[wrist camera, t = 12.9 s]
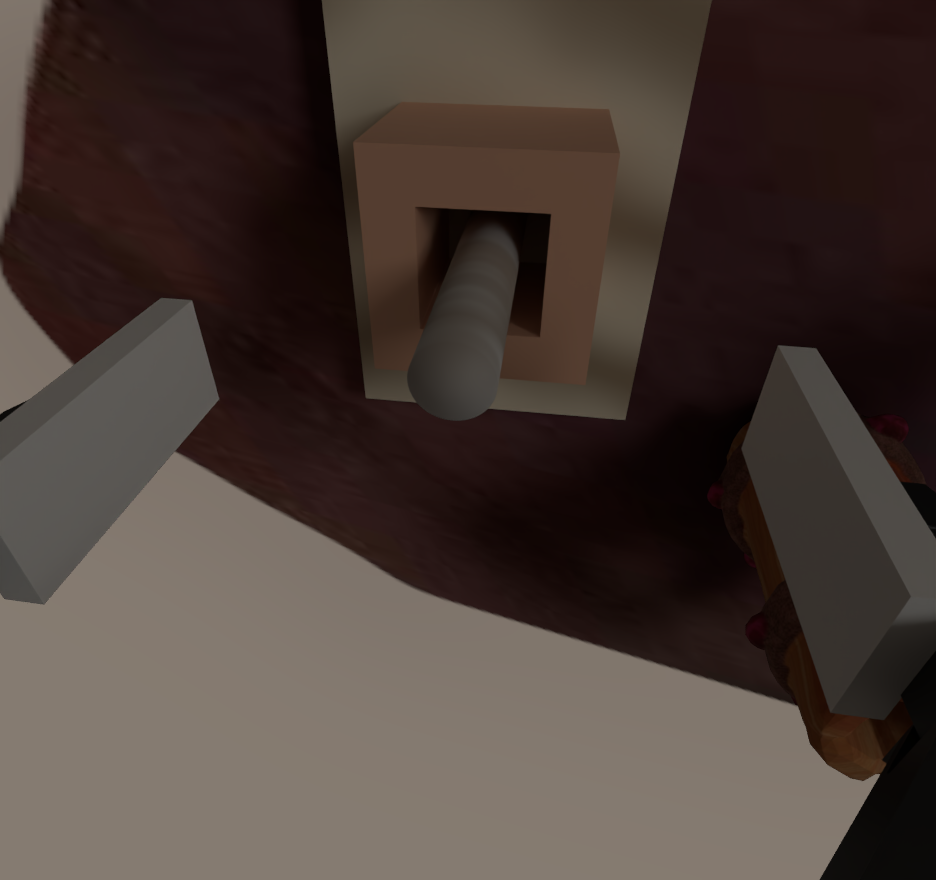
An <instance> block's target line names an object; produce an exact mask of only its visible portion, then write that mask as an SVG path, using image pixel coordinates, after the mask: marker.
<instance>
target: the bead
mask: <svg viewBox="0 0 936 880" xmlns="http://www.w3.org/2000/svg"><path fill="white" fill-rule="evenodd" d="M353 148H354V158H355V168H356V179H357V189H358V199H359V210H360V220H361V230H362V241H363V251H364V261H365V272H366V282H367V292H368V303H369V313H370V323H371V334H372V344H373V354H374V365H375V369H387V370H400V371H408V368H409V365H410V363H411V360H412V358H413V355H414V353H415V350H416V348H417V345H418V343H419V340H420V338H421V335H422V333H423V330H424V328H425V325H426V323H427V320H428V318H429V315H430V313H431V311H432V308H433V306H434V303H435V301H436V298H437V296H438V293H439V291H440V288H441V286H442V283H443V281H444V278H445V276H446V273H447V271H448V268H449V266H450V263H451V261H452V258H449V209H468V210H488V211H507V212H526V213H545V214H551V217H550V228H549V239H548V250H547V261H546V264H544V263H527V262H519V268H518V274H517V280H516V285H515V291H514V297H513V303H512V308H511V314H510V320H509V326H508V331H507V337H506V343H505V349H504V354H503V360H502V366H501V372H500V377H499V378H501V379H514V380H526V381H539V382H552V383H564V384H577V385H585V384H586V378H587V371H588V365H589V358H590V351H591V345H592V338H593V331H594V325H595V318H596V311H597V305H598V298H599V291H600V285H601V278H602V271H603V265H604V258H605V251H606V245H607V238H608V231H609V225H610V218H611V211H612V205H613V198H614V191H615V185H616V178H617V171H618V165H619V158H620V151H619V147H618V143H617V139H616V135H615V131H614V127H613V123H612V119H611V115H610V111H609V109H589V108H561V107H533V106H504V105H476V104H448V103H420V102H401V103H400V104H399V105H397V106H396V107H395V108H394V109H392V110H391V111H390V112H389V113H388V114H386V115H385V116H384V117H383V118H382V119H380V120H379V121H378V122H377V123H376V124H374V125H373V126H372V127H371V128H369V129H368V130H367V131H366V132H365V133H363V134H362V135H361V136H360V137H359V138H357V139H356V140H355V141H354V142H353Z"/></svg>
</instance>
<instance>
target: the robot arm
mask: <svg viewBox="0 0 936 880" xmlns="http://www.w3.org/2000/svg"><path fill="white" fill-rule="evenodd" d="M218 400H219V397H218V393H217V389H216V386H215V382H214V378H213V375H212V371H211V368H210V364H209V360H208V357H207V353H206V350H205V346H204V342H203V339H202V335H201V332H200V328H199V324H198V321H197V317H196V314H195V310H194V306H193V303H192V300H181V299H168V298H161V299H159V300H158V301H157V302H155V303H154V304H153V305H151V306H150V307H149V308H148V309H146V310H145V311H144V312H142V313H141V314H140V315H138V316H137V317H136V318H135V319H133V320H132V321H131V322H129V323H128V324H127V325H125V326H124V327H123V328H122V329H120V330H119V331H118V332H116V333H115V334H114V335H112V336H111V337H110V338H109V339H107V340H106V341H105V342H103V343H102V344H101V345H100V346H98V347H97V348H96V349H94V350H93V351H92V352H90V353H89V354H88V355H87V356H85V357H84V358H83V359H81V360H80V361H79V362H77V363H76V364H75V365H74V366H72V367H71V368H70V369H68V370H67V371H66V372H64V373H63V374H62V375H61V376H59V377H58V378H57V379H55V380H54V381H53V382H51V383H50V384H49V385H48V386H46V387H45V388H44V389H42V390H41V391H40V392H38V393H37V394H36V395H35V396H33V397H32V398H31V399H29V400H28V401H25V402H23V403H21V404H19V405H17V406H15V407H13V408H11V409H9V410H6V411H4V412H3V413H2V414H0V593H1V595H2V596H3V598H4V599H8V600H15V601H23V602H30V603H37V604H45V603H46V602H47V600H48V599H49V598H50V597H51V596H52V595H53V593H54V592H55V591H56V590H57V589H58V587H59V586H60V585H61V584H62V583H63V582H64V580H65V579H66V578H67V577H68V576H69V575H70V573H71V572H72V571H73V570H74V569H75V568H76V566H77V565H78V564H79V563H80V562H81V561H82V559H83V558H84V557H85V556H86V555H87V553H88V552H89V551H90V550H91V549H92V548H93V546H94V545H95V544H96V543H97V542H98V541H99V539H100V538H101V537H102V536H103V535H104V534H105V532H106V531H107V530H108V529H109V528H110V526H111V525H112V524H113V523H114V522H115V521H116V519H117V518H118V517H119V516H120V515H121V514H122V512H123V511H124V510H125V509H126V508H127V507H128V505H129V504H130V503H131V502H132V501H133V500H134V498H135V497H136V496H137V495H138V494H139V493H140V491H141V490H142V489H143V488H144V486H145V485H146V484H147V483H148V482H149V481H150V480H151V478H152V477H153V476H154V475H155V474H156V473H157V471H158V470H159V469H160V468H161V467H162V466H163V464H164V463H165V462H166V461H167V460H168V458H169V457H170V456H171V455H172V454H173V453H174V451H175V450H176V449H177V448H178V447H179V446H180V444H181V443H182V442H183V441H184V440H185V439H186V437H187V436H188V435H189V434H190V433H191V432H192V430H193V429H194V428H195V427H196V426H197V425H198V423H199V422H200V421H201V420H202V419H203V417H204V416H205V415H206V414H207V413H208V412H209V410H210V409H211V408H212V407H213V406H214V405H215V403H216V402H217V401H218ZM741 449H742V452H743V455H744V458H745V461H746V464H747V467H748V470H749V473H750V476H751V479H752V482H753V485H754V488H755V491H756V494H757V496H758V499H759V502H760V505H761V508H762V511H763V514H764V517H765V520H766V523H767V526H768V529H769V532H770V535H771V538H772V541H773V544H774V547H775V550H776V553H777V556H778V559H779V562H780V565H781V568H782V571H783V573H784V576H785V579H786V582H787V585H788V588H789V591H790V594H791V597H792V600H793V603H794V606H795V609H796V612H797V615H798V618H799V621H800V624H801V627H802V630H803V633H804V636H805V639H806V642H807V645H808V648H809V651H810V653H811V656H812V659H813V662H814V665H815V668H816V671H817V674H818V677H819V680H820V683H821V686H822V689H823V692H824V695H825V698H826V701H827V704H828V707H829V710H830V713H836V714H843V715H850V716H857V717H865V718H872V719H879V720H884V719H885V718H886V717H887V716H888V714H889V713H890V712H891V711H892V709H893V708H894V707H895V706H896V704H897V703H898V702H899V701H900V699H901V698H902V700H903V702H904V704H905V706H906V709H907V711H908V713H909V715H910V718H911V720H912V722H913V724H912V725H911V727H910V728H909V729H908V730H907V731H906V732H905V734H904V735H903V736H902V737H901V738H900V739H899V740H898V742H897V743H896V744H895V745H894V746H893V747H892V749H891V750H890V751H889V752H888V753H887V754H886V756H885V757H884V758H883V759H882V761H884V762H885V763H886V766H885V768H884V769H883V771H882V773H881V774H880V776H879V778H878V780H877V782H876V783H875V785H874V787H873V788H872V790H871V792H870V794H869V795H868V797H867V799H866V800H865V802H864V804H863V806H862V807H861V809H860V811H859V813H858V814H857V816H856V818H855V820H854V821H853V823H852V825H851V826H850V828H849V830H848V832H847V833H846V835H845V837H844V839H843V840H842V842H841V844H840V845H839V847H838V849H837V851H836V852H835V854H834V856H833V858H832V859H831V861H830V863H829V864H828V866H827V868H826V870H825V871H824V873H823V875H822V877H821V878H820V880H936V493H935V492H934V491H933V490H931V489H930V488H929V487H928V486H926V485H925V484H920V483H910V482H900V481H899V479H898V478H897V476H896V475H895V473H894V471H893V470H892V468H891V467H890V465H889V464H888V462H887V460H886V459H885V457H884V456H883V454H882V452H881V451H880V449H879V448H878V446H877V444H876V443H875V441H874V440H873V438H872V436H871V435H870V433H869V432H868V430H867V429H866V427H865V425H864V424H863V422H862V421H861V419H860V417H859V416H858V414H857V413H856V411H855V409H854V408H853V406H852V405H851V403H850V401H849V400H848V398H847V397H846V395H845V393H844V392H843V390H842V389H841V387H840V386H839V384H838V382H837V381H836V379H835V378H834V376H833V374H832V373H831V371H830V370H829V368H828V366H827V365H826V363H825V362H824V360H823V358H822V357H821V355H820V354H819V352H818V350H817V349H816V348H805V347H792V346H779V345H778V347H777V350H776V352H775V355H774V358H773V361H772V364H771V367H770V369H769V372H768V375H767V378H766V381H765V383H764V386H763V389H762V392H761V395H760V398H759V400H758V403H757V406H756V409H755V412H754V414H753V417H752V420H751V423H750V426H749V429H748V431H747V434H746V437H745V440H744V443H743V445H742V448H741Z"/></svg>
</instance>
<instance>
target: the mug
mask: <svg viewBox="0 0 936 880" xmlns="http://www.w3.org/2000/svg"><path fill="white" fill-rule="evenodd" d="M857 414H858V413H857ZM858 416H859V417H860V419H861V421H862V422H863V424H864V425H865V427H866V429H867V430H868V432H869V433H870V435H871V436H872V438H873V440H874V441H875V443H876V444H877V446H878V448H879V449H880V451H881V452H882V454H883V456H884V457H885V459H886V460H887V462H888V464H889V465H890V467H891V468H892V470H893V471H894V473H895V475H896V476H897V478H898V479H899V481H900V482H910V483H920V484H925V485H926V482H925V479H924V476H923V474H922V473H921V471H920V469H919V467H918V465H917V463H916V461H915V460H914V458H913V457H912V455H911V454H910V452H909V451H908V449H907V448H906V447H905V446H904V444H903V443H902V441H903V440H904V439H905V438H906V435H907V433H908V431H909V428H908V425H907V422H906V421H905V419H904V418H902V417H900V416H897V415H892V414H884V415H878V416H874V417H870V418H869V417H865V416H862V415H860V414H858ZM750 423H751V421H750V422H749V423H747V424H746V425H744V426H743V427H742V428H741V429H740V431H739V432H738V433H737V435H736V436H735V438H734V440H733V442H732V444H731V447H730V450H729V452H728V454H727V456H726V457H727V464H726V466H725V468H724V470H723V472H722V474H721V476H720V478H719V480H718V481H716V482H714V483H713V484H712V485H711V487H710V489H709V492H708V494H707V498H708V501H709V502H710V503H711V504H712V505H713V506H714V507H716V508H719V509H722V513H723V517H724V521H725V525H726V528H727V530H728V532H729V534H730V536H731V538H732V539H733V541H734V542H735V543H736V544H737V545H738V547H739V548H740V549H741V550H742V551H743V552H744V558H745V561H746V563H747V564H748V565H749V566H751V567H753V568H757V571H758V575H759V578H760V582H761V585H762V589H763V593H764V597H765V602H766V603H765V605H764V607H763V609H762V611H761V612H760V613H758V614H756V615H754V616H752V617H751V619H750V620H749V621H748V623H747V624H746V636H747V638H748V639H749V641H750V642H751V643H752V644H753V645H754V646H756V647H757V648H760V649H763V650H765V652H766V656H767V660H768V663H769V667H770V670H771V672H772V673H773V675H774V677H775V679H776V681H777V682H778V683H779V684H780V685H781V686H782V688H783V689H784V690H785V691H786V692H787V693H788V694H789V695H791V697H792V699H793V701H794V703H795V705H797V706H798V707H799V710H800V713H801V716H802V719H803V721H804V724H805V726H806V729H807V734H808V738H809V742H810V744H811V746H812V747H813V748H814V749H815V750H816V751H817V753H818V754H819V755H820V756H821V757H822V759H823V760H824V761H825V762H826V764H827V765H829V766H831V767H832V768H834V769H836V770H838V771H839V772H841V773H843V774H844V775H846V776H848V777H849V778H852V779H857V780H862V781H864V780H866V779H868V778H869V777H871V776H873V775H875V774H881V773H882V771H883V769H884V768H885V766H886V763H885V762H884V761H882V759H883V758H884V757H885V756H886V754H887V753H888V752H889V751H890V750H891V749H892V747H893V746H894V745H895V744H896V743H897V742H898V740H899V739H900V738H901V737H902V736H903V735H904V734H905V732H906V731H907V730H908V729H909V728H910V727H911V725H912V724H913V722H912V720H911V718H910V715H909V713H908V711H907V709H906V706H905V704H904V702H903V700H902V698H901V699H900V701H899V702H898V703H897V704H896V706H895V707H894V708H893V709H892V711H891V712H890V713H889V714H888V716H887V717H886V718H885V719H884V720H879V719H872V718H865V717H857V716H850V715H843V714H836V713H830V710H829V707H828V704H827V701H826V698H825V695H824V692H823V689H822V686H821V683H820V680H819V677H818V674H817V671H816V668H815V665H814V662H813V659H812V656H811V653H810V651H809V648H808V645H807V642H806V639H805V636H804V633H803V630H802V627H801V624H800V621H799V618H798V615H797V612H796V609H795V606H794V603H793V600H792V597H791V594H790V591H789V588H788V585H787V582H786V579H785V576H784V573H783V571H782V568H781V565H780V562H779V559H778V556H777V553H776V550H775V547H774V544H773V541H772V538H771V535H770V532H769V529H768V526H767V523H766V520H765V517H764V514H763V511H762V508H761V505H760V502H759V499H758V496H757V494H756V491H755V488H754V485H753V482H752V479H751V476H750V473H749V470H748V467H747V464H746V461H745V458H744V455H743V452H742V449H741V448H742V445H743V443H744V440H745V437H746V434H747V431H748V429H749V426H750Z"/></svg>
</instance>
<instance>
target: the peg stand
mask: <svg viewBox="0 0 936 880" xmlns="http://www.w3.org/2000/svg"><path fill="white" fill-rule="evenodd" d="M711 1H712V0H322V7H323V16H324V25H325V34H326V43H327V52H328V61H329V70H330V79H331V88H332V97H333V106H334V115H335V124H336V133H337V142H338V151H339V160H340V169H341V178H342V188H343V197H344V206H345V215H346V224H347V233H348V242H349V251H350V260H351V269H352V278H353V287H354V296H355V305H356V314H357V323H358V332H359V341H360V350H361V359H362V368H363V377H364V386H365V395H366V398H370V399H382V400H394V401H406V402H417V403H418V404H419V405H420V406H421V407H422V408H423V409H424V410H425V411H427V412H429V413H430V414H432V415H434V416H436V417H439V418H442V419H446V420H457V421H458V420H467V419H471V418H474V417H476V416H478V415H480V414H482V413H483V412H485V411H486V410H487V409H488V408H489V409H501V410H512V411H524V412H536V413H548V414H560V415H572V416H584V417H596V418H607V419H619V420H625V418H626V413H627V409H628V404H629V399H630V394H631V389H632V384H633V380H634V375H635V370H636V365H637V360H638V355H639V350H640V346H641V341H642V336H643V331H644V326H645V321H646V316H647V312H648V307H649V302H650V297H651V292H652V287H653V282H654V278H655V273H656V268H657V263H658V258H659V253H660V249H661V244H662V239H663V234H664V229H665V224H666V219H667V215H668V210H669V205H670V200H671V195H672V190H673V185H674V181H675V176H676V171H677V166H678V161H679V156H680V152H681V147H682V142H683V137H684V132H685V127H686V122H687V118H688V113H689V108H690V103H691V98H692V93H693V88H694V84H695V79H696V74H697V69H698V64H699V59H700V54H701V50H702V45H703V40H704V35H705V30H706V25H707V21H708V16H709V11H710V6H711ZM401 102H420V103H448V104H476V105H504V106H533V107H561V108H589V109H609V111H610V115H611V119H612V123H613V127H614V131H615V135H616V139H617V143H618V147H619V151H620V158H619V165H618V171H617V178H616V185H615V191H614V198H613V205H612V211H611V218H610V225H609V231H608V238H607V245H606V251H605V258H604V265H603V271H602V278H601V285H600V291H599V298H598V305H597V311H596V318H595V325H594V331H593V338H592V345H591V351H590V358H589V365H588V371H587V378H586V384H585V385H577V384H564V383H552V382H539V381H526V380H514V379H501V378H499V377H500V372H501V366H502V360H503V354H504V349H505V343H506V337H507V331H508V326H509V320H510V314H511V308H512V303H513V297H514V291H515V285H516V280H517V274H518V268H519V262H527V263H544V264H546V261H547V250H548V239H549V228H550V217H551V214H545V213H526V212H507V211H488V210H468V209H449V258H452V261H451V263H450V266H449V268H448V271H447V273H446V276H445V278H444V281H443V283H442V286H441V288H440V291H439V293H438V296H437V298H436V301H435V303H434V306H433V308H432V311H431V313H430V315H429V318H428V320H427V323H426V325H425V328H424V330H423V333H422V335H421V338H420V340H419V343H418V345H417V348H416V350H415V353H414V355H413V358H412V360H411V363H410V365H409V368H408V371H400V370H387V369H375V365H374V354H373V344H372V334H371V323H370V313H369V303H368V292H367V282H366V272H365V261H364V251H363V241H362V230H361V220H360V210H359V199H358V189H357V179H356V168H355V158H354V148H353V142H354V141H355V140H356V139H357V138H359V137H360V136H361V135H362V134H363V133H365V132H366V131H367V130H368V129H369V128H371V127H372V126H373V125H374V124H376V123H377V122H378V121H379V120H380V119H382V118H383V117H384V116H385V115H386V114H388V113H389V112H390V111H391V110H392V109H394V108H395V107H396V106H397V105H399V104H400V103H401Z"/></svg>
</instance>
